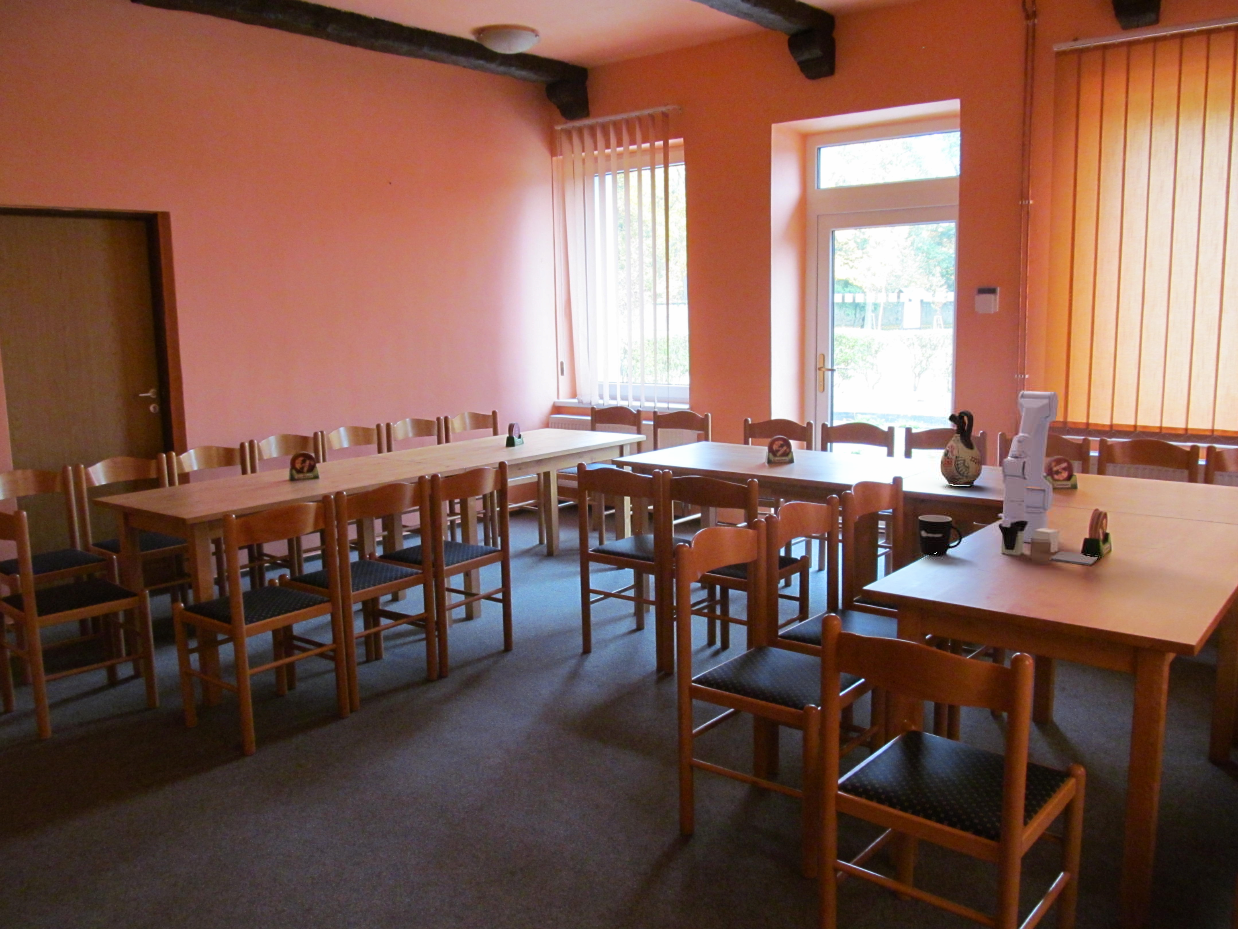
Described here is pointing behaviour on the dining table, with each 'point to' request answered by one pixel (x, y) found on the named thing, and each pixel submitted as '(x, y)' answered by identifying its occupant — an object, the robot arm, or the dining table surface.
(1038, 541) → the walnut block
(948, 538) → the mug
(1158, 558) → the dining table surface
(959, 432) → the ceramic jug
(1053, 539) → the cream block
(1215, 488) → the dining table surface
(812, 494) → the dining table surface
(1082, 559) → the coaster
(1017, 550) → the green block
